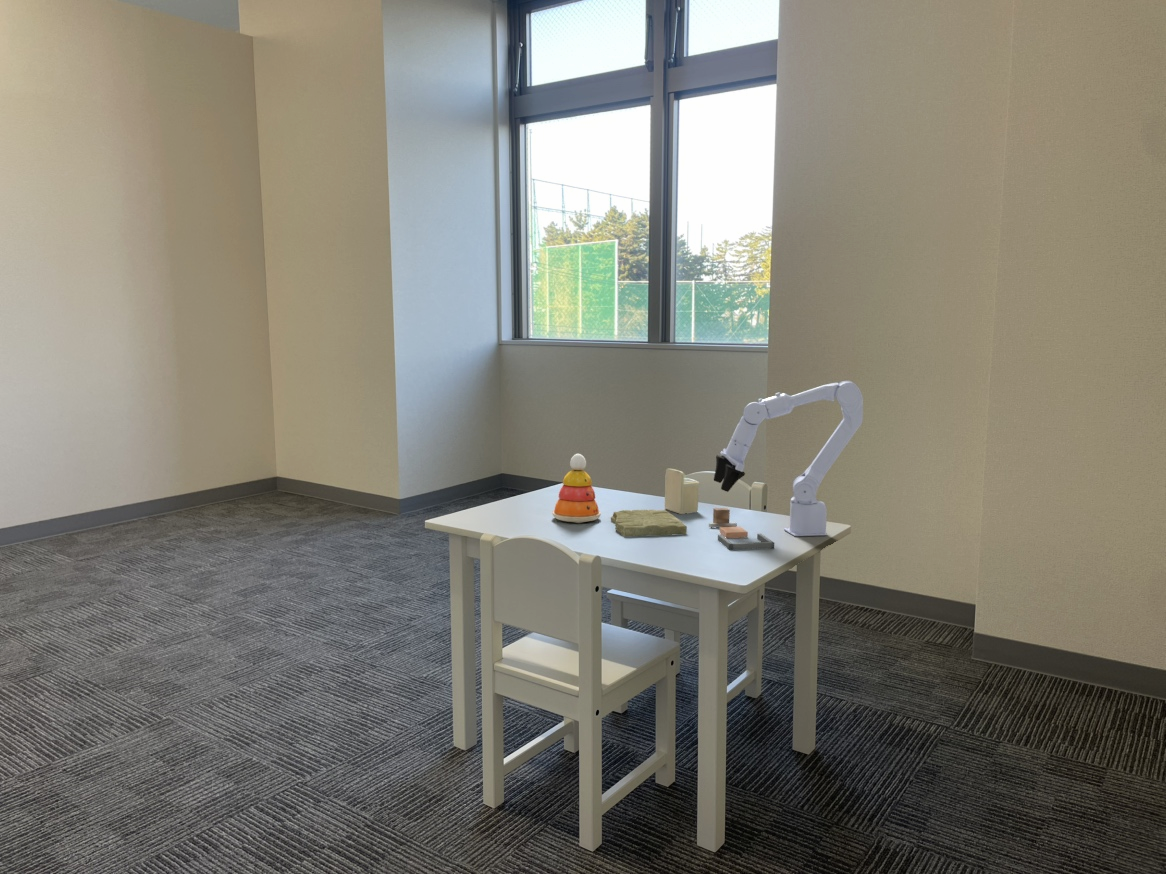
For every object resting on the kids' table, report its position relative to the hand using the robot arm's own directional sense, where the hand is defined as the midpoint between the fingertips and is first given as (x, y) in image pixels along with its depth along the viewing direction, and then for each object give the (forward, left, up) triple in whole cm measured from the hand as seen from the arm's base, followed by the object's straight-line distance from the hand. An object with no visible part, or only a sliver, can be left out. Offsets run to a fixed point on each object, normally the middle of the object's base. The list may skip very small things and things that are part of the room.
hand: (720, 485), depth 244 cm
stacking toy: (+39, -15, -12) cm, 44 cm away
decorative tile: (+21, -3, -13) cm, 25 cm away
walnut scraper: (-1, -2, -12) cm, 12 cm away
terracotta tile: (-1, +9, -13) cm, 15 cm away
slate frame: (-1, +19, -12) cm, 22 cm away
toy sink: (+5, -23, -12) cm, 27 cm away
